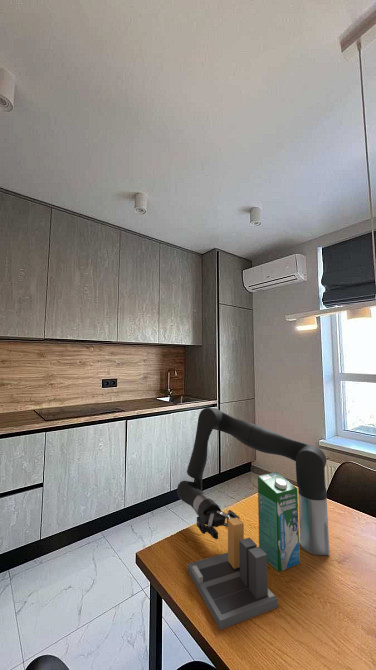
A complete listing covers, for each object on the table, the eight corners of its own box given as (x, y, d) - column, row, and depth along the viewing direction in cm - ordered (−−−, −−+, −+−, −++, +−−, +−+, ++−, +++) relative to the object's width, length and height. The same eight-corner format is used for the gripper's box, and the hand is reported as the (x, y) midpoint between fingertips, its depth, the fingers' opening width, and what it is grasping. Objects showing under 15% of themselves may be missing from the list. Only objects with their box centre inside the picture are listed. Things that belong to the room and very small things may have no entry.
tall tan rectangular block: (237, 558, 86) (237, 517, 88) (244, 565, 83) (243, 523, 84) (228, 561, 85) (227, 519, 86) (234, 568, 82) (233, 525, 83)
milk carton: (279, 572, 84) (276, 485, 87) (258, 554, 92) (257, 475, 95) (300, 563, 88) (297, 480, 91) (279, 546, 96) (277, 471, 99)
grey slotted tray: (235, 556, 90) (235, 517, 92) (277, 607, 72) (276, 557, 73) (187, 570, 84) (187, 528, 85) (220, 630, 65) (220, 574, 67)
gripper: (189, 501, 101) (209, 525, 86) (223, 495, 106) (247, 516, 91) (188, 523, 100) (209, 551, 85) (223, 515, 105) (247, 540, 91)
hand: (228, 533), depth 88 cm, fingers open, 8 cm apart
